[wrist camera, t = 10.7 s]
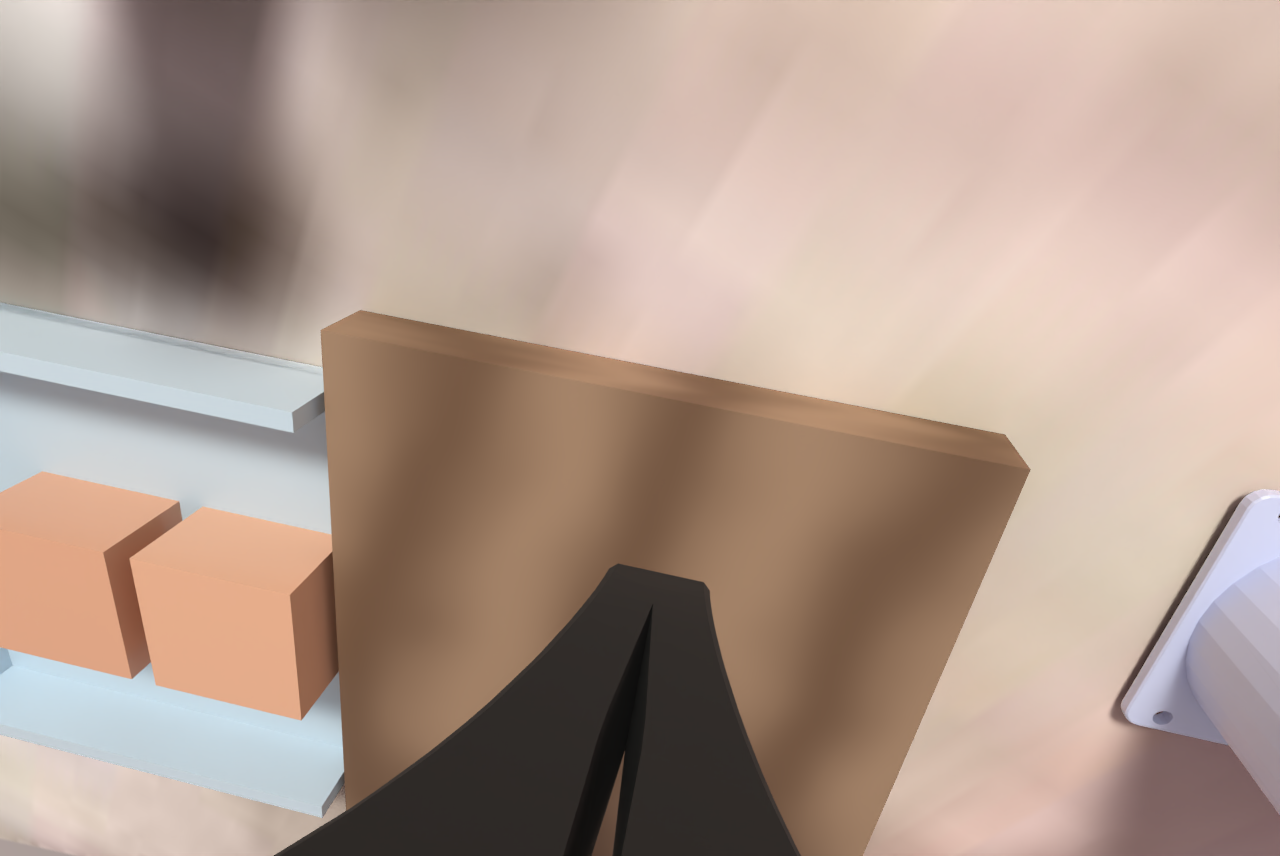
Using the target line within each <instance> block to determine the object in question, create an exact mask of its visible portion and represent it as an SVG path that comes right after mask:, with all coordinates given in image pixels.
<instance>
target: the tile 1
mask: <svg viewBox="0 0 1280 856" xmlns="http://www.w3.org/2000/svg"><path fill="white" fill-rule="evenodd" d="M181 521H182V515H181V509H180V503H179V501H176V500H172V499H167V498H162V497H158V496H153V495H149V494H144V493H140V492H135V491H130V490H126V489H121V488H117V487H112V486H107V485H103V484H98V483H94V482H89V481H84V480H80V479H75V478H71V477H66V476H62V475H57V474H52V473H48V472H43V471H42V472H40V473H38V474H36V475H34V476H32V477H30V478H28V479H26V480H24V481H22V482H20V483H18V484H16V485H14V486H12V487H10V488H8V489H6V490H4V491H2V492H0V647H1V648H5V649H9V650H13V651H18V652H22V653H26V654H30V655H34V656H38V657H42V658H46V659H50V660H55V661H59V662H63V663H67V664H71V665H75V666H79V667H83V668H87V669H92V670H96V671H100V672H104V673H108V674H112V675H116V676H120V677H124V678H129V679H133V678H134V677H135V676H136V675H137V674H138V673H139V672H141V671H142V670H143V669H144V668H145V667H146V666H147V665H148V664H149V663H150V662H151V660H150V655H149V650H148V646H147V641H146V636H145V631H144V626H143V622H142V617H141V612H140V607H139V602H138V598H137V593H136V588H135V583H134V578H133V574H132V569H131V564H130V559H129V558H131V557H132V556H134V555H135V554H136V553H138V552H139V551H141V550H142V549H143V548H145V547H146V546H148V545H149V544H150V543H152V542H153V541H155V540H156V539H157V538H159V537H160V536H162V535H163V534H165V533H166V532H167V531H169V530H170V529H172V528H173V527H174V526H176V525H177V524H179V523H180V522H181Z"/></svg>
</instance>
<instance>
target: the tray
mask: <svg viewBox="0 0 1280 856" xmlns="http://www.w3.org/2000/svg"><path fill="white" fill-rule="evenodd" d="M42 471H43V472H48V473H52V474H57V475H62V476H66V477H71V478H75V479H80V480H84V481H89V482H94V483H98V484H103V485H107V486H112V487H117V488H121V489H126V490H130V491H135V492H140V493H144V494H149V495H153V496H158V497H162V498H167V499H172V500H176V501H179V503H180V509H181V515H182V521H183V520H184V519H186V518H187V517H188V516H190V515H191V514H193V513H194V512H196V511H197V510H198V509H200V508H201V507H208V508H212V509H217V510H222V511H226V512H231V513H235V514H240V515H245V516H249V517H254V518H258V519H263V520H267V521H272V522H277V523H281V524H286V525H290V526H295V527H300V528H304V529H309V530H313V531H318V532H322V533H327V534H331V515H330V496H329V477H328V458H327V439H326V420H325V402H324V383H323V367H319V366H314V365H309V364H304V363H299V362H294V361H289V360H284V359H279V358H274V357H269V356H264V355H259V354H254V353H249V352H244V351H239V350H234V349H229V348H224V347H219V346H214V345H209V344H204V343H199V342H194V341H190V340H185V339H180V338H175V337H170V336H165V335H160V334H155V333H150V332H145V331H140V330H135V329H130V328H125V327H120V326H115V325H110V324H105V323H100V322H95V321H90V320H85V319H80V318H75V317H70V316H65V315H60V314H55V313H50V312H45V311H40V310H35V309H30V308H25V307H20V306H16V305H11V304H6V303H1V302H0V492H2V491H4V490H6V489H8V488H10V487H12V486H14V485H16V484H18V483H20V482H22V481H24V480H26V479H28V478H30V477H32V476H34V475H36V474H38V473H40V472H42ZM0 735H4V736H7V737H11V738H15V739H19V740H23V741H27V742H31V743H34V744H38V745H42V746H46V747H50V748H54V749H58V750H62V751H65V752H69V753H73V754H77V755H81V756H85V757H89V758H93V759H96V760H100V761H104V762H108V763H112V764H116V765H120V766H123V767H127V768H131V769H135V770H139V771H143V772H147V773H151V774H154V775H158V776H162V777H166V778H170V779H174V780H178V781H182V782H185V783H189V784H193V785H197V786H201V787H205V788H209V789H212V790H216V791H220V792H224V793H228V794H232V795H236V796H240V797H243V798H247V799H251V800H255V801H259V802H263V803H267V804H271V805H274V806H278V807H282V808H286V809H290V810H294V811H298V812H302V813H305V814H309V815H313V816H317V817H321V818H323V816H324V815H325V813H326V811H327V810H328V808H329V807H330V805H331V803H332V802H333V800H334V799H335V797H336V795H337V794H338V792H339V791H340V789H341V787H342V786H343V784H344V783H345V779H344V760H343V741H342V722H341V703H340V684H339V672H338V673H337V674H336V676H335V677H334V678H333V680H332V681H331V682H330V684H329V685H328V686H327V688H326V689H325V690H324V691H323V693H322V694H321V695H320V697H319V698H318V699H317V701H316V702H315V703H314V705H313V706H312V707H311V709H310V710H309V711H308V713H307V714H306V715H305V717H304V718H303V719H302V721H301V720H297V719H293V718H289V717H284V716H280V715H276V714H272V713H268V712H264V711H260V710H256V709H252V708H247V707H243V706H239V705H235V704H231V703H227V702H223V701H219V700H215V699H210V698H206V697H202V696H198V695H194V694H190V693H186V692H182V691H178V690H173V689H169V688H165V687H161V686H157V685H156V684H155V679H154V674H153V669H152V665H151V662H150V663H149V664H148V665H147V666H146V667H145V668H144V669H143V670H142V671H141V672H139V673H138V674H137V675H136V676H135V677H134V678H133V679H129V678H124V677H120V676H116V675H112V674H108V673H104V672H100V671H96V670H92V669H87V668H83V667H79V666H75V665H71V664H67V663H63V662H59V661H55V660H50V659H46V658H42V657H38V656H34V655H30V654H26V653H22V652H18V651H13V650H9V649H5V648H1V647H0Z"/></svg>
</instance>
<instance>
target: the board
mask: <svg viewBox="0 0 1280 856" xmlns="http://www.w3.org/2000/svg"><path fill="white" fill-rule="evenodd" d="M321 345H322V364H323V383H324V402H325V420H326V439H327V458H328V477H329V496H330V515H331V534H332V552H333V571H334V590H335V609H336V628H337V647H338V666H339V684H340V703H341V722H342V741H343V760H344V779H345V798H346V811H347V810H348V809H350V808H351V807H353V806H354V805H356V804H357V803H359V802H360V801H361V800H363V799H364V798H366V797H367V796H369V795H370V794H372V793H373V792H375V791H376V790H378V789H379V788H380V787H382V786H383V785H384V784H386V783H387V782H389V781H390V780H391V779H393V778H394V777H395V776H397V775H398V774H399V773H401V772H402V771H404V770H405V769H406V768H408V767H409V766H410V765H412V764H413V763H415V762H416V761H417V760H419V759H420V758H421V757H423V756H424V755H425V754H427V753H428V752H429V751H431V750H432V749H433V748H435V747H436V746H437V745H438V744H440V743H441V742H442V741H443V740H445V739H446V738H447V737H448V736H450V735H451V734H452V733H453V732H455V731H456V730H457V729H458V728H459V727H461V726H462V725H463V724H464V723H465V722H467V721H468V720H469V719H470V718H471V717H473V716H474V715H475V714H476V713H477V712H478V711H479V710H481V709H482V708H483V707H484V706H485V705H486V704H487V703H489V702H490V701H491V700H492V699H493V698H494V697H495V696H496V695H497V694H498V693H499V692H500V691H502V690H503V689H504V688H505V687H506V686H507V685H508V684H509V683H510V682H511V681H512V680H513V679H514V678H515V677H516V676H517V675H518V674H519V673H520V672H521V671H522V670H524V669H525V668H526V667H527V666H528V665H529V664H530V663H531V662H532V661H533V660H534V659H535V658H536V657H537V656H538V655H539V654H540V653H541V652H542V651H543V649H544V648H545V647H546V646H547V645H548V644H549V643H550V642H551V641H552V640H553V639H554V637H555V636H556V635H557V634H558V633H559V632H560V631H561V630H562V629H563V628H564V627H565V626H566V624H567V623H568V622H569V621H570V620H571V619H572V618H573V616H574V615H575V614H576V613H577V612H578V610H579V609H580V608H581V607H582V606H583V604H584V603H585V602H586V601H587V599H588V598H589V597H590V596H591V594H592V593H593V592H594V590H595V589H596V588H597V586H598V585H599V583H600V582H601V580H602V579H603V578H604V576H605V574H606V573H607V571H608V569H609V568H611V567H613V566H614V565H616V564H623V565H628V566H632V567H637V568H641V569H646V570H650V571H655V572H660V573H664V574H669V575H673V576H678V577H683V578H687V579H692V580H696V581H701V582H704V583H705V584H706V586H707V587H708V589H709V590H710V600H711V608H712V615H713V620H714V625H715V630H716V635H717V639H718V643H719V647H720V651H721V655H722V659H723V662H724V666H725V669H726V673H727V676H728V679H729V682H730V685H731V688H732V691H733V695H734V698H735V701H736V704H737V707H738V710H739V713H740V716H741V719H742V721H743V724H744V727H745V730H746V732H747V735H748V738H749V740H750V743H751V745H752V748H753V750H754V753H755V755H756V758H757V761H758V763H759V766H760V768H761V771H762V773H763V775H764V778H765V780H766V782H767V785H768V787H769V789H770V792H771V794H772V796H773V798H774V801H775V803H776V805H777V807H778V809H779V812H780V814H781V816H782V818H783V820H784V822H785V824H786V826H787V828H788V830H789V832H790V834H791V837H792V839H793V841H794V843H795V845H796V847H797V849H798V851H799V853H800V855H801V856H863V853H864V851H865V849H866V847H867V844H868V842H869V840H870V837H871V835H872V833H873V830H874V828H875V826H876V824H877V821H878V819H879V817H880V814H881V812H882V810H883V807H884V805H885V803H886V801H887V798H888V796H889V794H890V791H891V789H892V787H893V785H894V782H895V780H896V778H897V775H898V773H899V771H900V768H901V766H902V764H903V762H904V759H905V757H906V755H907V752H908V750H909V748H910V745H911V743H912V741H913V739H914V736H915V734H916V732H917V729H918V727H919V725H920V722H921V720H922V718H923V716H924V713H925V711H926V709H927V706H928V704H929V702H930V699H931V697H932V695H933V693H934V690H935V688H936V686H937V683H938V681H939V679H940V676H941V674H942V672H943V670H944V667H945V665H946V663H947V660H948V658H949V656H950V653H951V651H952V649H953V647H954V644H955V642H956V640H957V637H958V635H959V633H960V630H961V628H962V626H963V624H964V621H965V619H966V617H967V614H968V612H969V610H970V607H971V605H972V603H973V601H974V598H975V596H976V594H977V591H978V589H979V587H980V585H981V582H982V580H983V578H984V575H985V573H986V571H987V568H988V566H989V564H990V562H991V559H992V557H993V555H994V552H995V550H996V548H997V545H998V543H999V541H1000V539H1001V536H1002V534H1003V532H1004V529H1005V527H1006V525H1007V522H1008V520H1009V518H1010V516H1011V513H1012V511H1013V509H1014V506H1015V504H1016V502H1017V499H1018V497H1019V495H1020V493H1021V490H1022V488H1023V486H1024V483H1025V481H1026V479H1027V476H1028V474H1029V472H1030V468H1029V467H1028V466H1027V464H1026V463H1025V461H1024V460H1023V459H1022V457H1021V456H1020V455H1019V453H1018V452H1017V450H1016V449H1015V448H1014V446H1013V445H1012V444H1011V442H1010V441H1009V439H1008V438H1007V437H1006V435H1004V434H999V433H993V432H988V431H983V430H978V429H973V428H967V427H962V426H957V425H952V424H947V423H942V422H936V421H931V420H926V419H921V418H916V417H910V416H905V415H900V414H895V413H890V412H885V411H879V410H874V409H869V408H864V407H859V406H853V405H848V404H843V403H838V402H833V401H828V400H822V399H817V398H812V397H807V396H802V395H796V394H791V393H786V392H781V391H776V390H771V389H765V388H760V387H755V386H750V385H745V384H739V383H734V382H729V381H724V380H719V379H714V378H708V377H703V376H698V375H693V374H688V373H682V372H677V371H672V370H667V369H662V368H657V367H651V366H646V365H641V364H636V363H631V362H625V361H620V360H615V359H610V358H605V357H600V356H594V355H589V354H584V353H579V352H574V351H568V350H563V349H558V348H553V347H548V346H543V345H537V344H532V343H527V342H522V341H517V340H511V339H506V338H501V337H496V336H491V335H486V334H480V333H475V332H470V331H465V330H460V329H454V328H449V327H444V326H439V325H434V324H429V323H423V322H418V321H413V320H408V319H403V318H397V317H392V316H387V315H382V314H377V313H372V312H366V311H361V310H360V311H358V312H356V313H354V314H352V315H350V316H348V317H346V318H344V319H342V320H340V321H338V322H336V323H334V324H332V325H330V326H328V327H326V328H324V329H322V330H321ZM624 754H625V752H624ZM623 762H624V755H623V758H622V761H621V765H620V768H619V771H618V774H617V777H616V780H615V784H614V787H613V790H612V793H611V796H610V799H609V803H608V806H607V809H606V812H605V815H604V818H603V821H602V825H601V828H600V831H599V834H598V837H597V840H596V843H595V847H594V850H593V853H592V856H612V854H613V846H614V838H615V829H616V821H617V812H618V804H619V796H620V787H621V779H622V771H623Z"/></svg>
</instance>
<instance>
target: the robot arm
mask: <svg viewBox="0 0 1280 856" xmlns="http://www.w3.org/2000/svg"><path fill="white" fill-rule="evenodd" d="M1279 515H1280V491H1276V490H1268V489H1261V490H1258V491H1254V492H1252V493H1250V494H1248V495H1247V496H1245V497H1244V498H1243V500H1242V501H1241V502H1240V503H1239V505H1238V507H1237V508H1236V510H1235V512H1234V513H1233V515H1232V517H1231V518H1230V520H1229V522H1228V523H1227V525H1226V527H1225V528H1224V530H1223V532H1222V534H1221V535H1220V537H1219V539H1218V540H1217V542H1216V544H1215V545H1214V547H1213V549H1212V550H1211V552H1210V554H1209V555H1208V557H1207V559H1206V560H1205V562H1204V564H1203V566H1202V567H1201V569H1200V571H1199V572H1198V574H1197V576H1196V577H1195V579H1194V581H1193V582H1192V584H1191V586H1190V587H1189V589H1188V591H1187V592H1186V594H1185V596H1184V597H1183V599H1182V601H1181V603H1180V604H1179V606H1178V608H1177V609H1176V611H1175V613H1174V614H1173V616H1172V618H1171V619H1170V621H1169V623H1168V624H1167V626H1166V628H1165V629H1164V631H1163V633H1162V635H1161V636H1160V638H1159V640H1158V641H1157V643H1156V645H1155V646H1154V648H1153V650H1152V651H1151V653H1150V655H1149V656H1148V658H1147V660H1146V661H1145V663H1144V665H1143V666H1142V668H1141V670H1140V672H1139V673H1138V675H1137V677H1136V678H1135V680H1134V682H1133V683H1132V685H1131V687H1130V688H1129V690H1128V692H1127V693H1126V695H1125V697H1124V698H1123V700H1122V702H1121V710H1122V712H1123V714H1124V715H1125V717H1126V719H1127V720H1128V721H1129V722H1130V723H1133V724H1135V725H1139V726H1144V727H1148V728H1153V729H1157V730H1162V731H1166V732H1170V733H1175V734H1179V735H1184V736H1188V737H1193V738H1197V739H1202V740H1206V741H1211V742H1215V743H1220V744H1224V745H1229V746H1230V748H1231V749H1232V750H1233V752H1234V753H1235V754H1236V756H1237V757H1238V759H1239V760H1240V761H1241V763H1242V764H1243V765H1244V767H1245V768H1246V770H1247V771H1248V772H1249V774H1250V775H1251V776H1252V778H1253V779H1254V781H1255V782H1256V783H1257V785H1258V786H1259V788H1260V789H1261V790H1262V792H1263V793H1264V794H1265V796H1266V797H1267V799H1268V800H1269V801H1270V803H1271V804H1272V805H1273V807H1274V808H1275V810H1276V811H1277V812H1278V814H1279V815H1280V518H1278V517H1279ZM1161 711H1163V712H1162V713H1160V714H1156V713H1158V712H1161ZM624 752H625V754H624ZM623 755H624V762H623V771H622V779H621V787H620V796H619V804H618V812H617V821H616V829H615V838H614V846H613V854H612V856H801V855H800V853H799V851H798V849H797V847H796V845H795V843H794V841H793V839H792V837H791V834H790V832H789V830H788V828H787V826H786V824H785V822H784V820H783V818H782V816H781V814H780V812H779V809H778V807H777V805H776V803H775V801H774V798H773V796H772V794H771V792H770V789H769V787H768V785H767V782H766V780H765V778H764V775H763V773H762V771H761V768H760V766H759V763H758V761H757V758H756V755H755V753H754V750H753V748H752V745H751V743H750V740H749V738H748V735H747V732H746V730H745V727H744V724H743V721H742V719H741V716H740V713H739V710H738V707H737V704H736V701H735V698H734V695H733V691H732V688H731V685H730V682H729V679H728V676H727V673H726V669H725V666H724V662H723V659H722V655H721V651H720V647H719V643H718V639H717V635H716V630H715V625H714V620H713V615H712V608H711V600H710V590H709V589H708V587H707V586H706V584H705V583H704V582H701V581H696V580H692V579H687V578H683V577H678V576H673V575H669V574H664V573H660V572H655V571H650V570H646V569H641V568H637V567H632V566H628V565H623V564H616V565H614V566H613V567H611V568H609V569H608V571H607V573H606V574H605V576H604V578H603V579H602V580H601V582H600V583H599V585H598V586H597V588H596V589H595V590H594V592H593V593H592V594H591V596H590V597H589V598H588V599H587V601H586V602H585V603H584V604H583V606H582V607H581V608H580V609H579V610H578V612H577V613H576V614H575V615H574V616H573V618H572V619H571V620H570V621H569V622H568V623H567V624H566V626H565V627H564V628H563V629H562V630H561V631H560V632H559V633H558V634H557V635H556V636H555V637H554V639H553V640H552V641H551V642H550V643H549V644H548V645H547V646H546V647H545V648H544V649H543V651H542V652H541V653H540V654H539V655H538V656H537V657H536V658H535V659H534V660H533V661H532V662H531V663H530V664H529V665H528V666H527V667H526V668H525V669H524V670H522V671H521V672H520V673H519V674H518V675H517V676H516V677H515V678H514V679H513V680H512V681H511V682H510V683H509V684H508V685H507V686H506V687H505V688H504V689H503V690H502V691H500V692H499V693H498V694H497V695H496V696H495V697H494V698H493V699H492V700H491V701H490V702H489V703H487V704H486V705H485V706H484V707H483V708H482V709H481V710H479V711H478V712H477V713H476V714H475V715H474V716H473V717H471V718H470V719H469V720H468V721H467V722H465V723H464V724H463V725H462V726H461V727H459V728H458V729H457V730H456V731H455V732H453V733H452V734H451V735H450V736H448V737H447V738H446V739H445V740H443V741H442V742H441V743H440V744H438V745H437V746H436V747H435V748H433V749H432V750H431V751H429V752H428V753H427V754H425V755H424V756H423V757H421V758H420V759H419V760H417V761H416V762H415V763H413V764H412V765H410V766H409V767H408V768H406V769H405V770H404V771H402V772H401V773H399V774H398V775H397V776H395V777H394V778H393V779H391V780H390V781H389V782H387V783H386V784H384V785H383V786H382V787H380V788H379V789H378V790H376V791H375V792H373V793H372V794H370V795H369V796H367V797H366V798H364V799H363V800H361V801H360V802H359V803H357V804H356V805H354V806H353V807H351V808H350V809H348V810H347V811H345V812H344V813H342V814H341V815H339V816H337V817H336V818H334V819H332V820H331V821H329V822H328V823H326V824H324V825H323V826H321V827H319V828H318V829H316V830H315V831H313V832H311V833H310V834H308V835H307V836H305V837H303V838H302V839H300V840H298V841H297V842H295V843H294V844H292V845H290V846H289V847H287V848H286V849H284V850H282V851H281V852H279V853H277V854H276V855H274V856H592V853H593V850H594V847H595V843H596V840H597V837H598V834H599V831H600V828H601V825H602V821H603V818H604V815H605V812H606V809H607V806H608V803H609V799H610V796H611V793H612V790H613V787H614V784H615V780H616V777H617V774H618V771H619V768H620V765H621V761H622V758H623Z"/></svg>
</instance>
